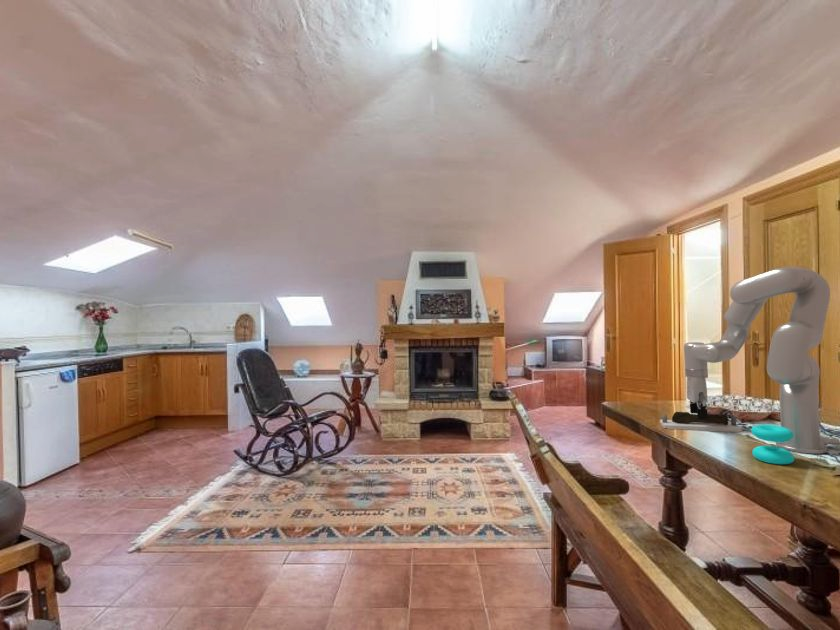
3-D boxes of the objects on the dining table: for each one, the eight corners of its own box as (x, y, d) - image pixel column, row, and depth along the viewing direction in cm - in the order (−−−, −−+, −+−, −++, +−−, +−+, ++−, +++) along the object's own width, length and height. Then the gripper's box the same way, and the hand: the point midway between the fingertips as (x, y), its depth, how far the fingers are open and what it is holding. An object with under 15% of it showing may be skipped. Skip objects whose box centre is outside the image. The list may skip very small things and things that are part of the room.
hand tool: (725, 423, 163) (724, 411, 163) (729, 425, 159) (728, 413, 160) (670, 421, 170) (670, 410, 170) (673, 423, 166) (672, 412, 166)
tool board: (732, 425, 164) (732, 414, 164) (741, 432, 156) (741, 420, 156) (659, 423, 173) (659, 412, 173) (664, 428, 164) (664, 417, 164)
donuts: (801, 432, 122) (761, 432, 124) (802, 466, 122) (763, 465, 124) (781, 423, 131) (744, 423, 134) (782, 455, 131) (746, 453, 134)
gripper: (679, 370, 174) (682, 410, 174) (691, 376, 157) (694, 421, 157) (700, 370, 171) (702, 411, 171) (715, 376, 155) (717, 422, 155)
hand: (698, 416), depth 164 cm, fingers open, 9 cm apart
